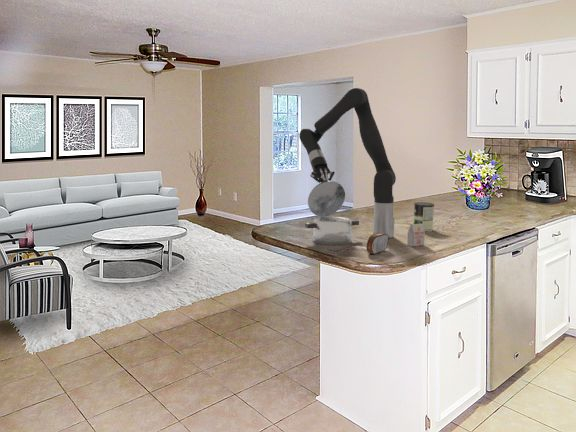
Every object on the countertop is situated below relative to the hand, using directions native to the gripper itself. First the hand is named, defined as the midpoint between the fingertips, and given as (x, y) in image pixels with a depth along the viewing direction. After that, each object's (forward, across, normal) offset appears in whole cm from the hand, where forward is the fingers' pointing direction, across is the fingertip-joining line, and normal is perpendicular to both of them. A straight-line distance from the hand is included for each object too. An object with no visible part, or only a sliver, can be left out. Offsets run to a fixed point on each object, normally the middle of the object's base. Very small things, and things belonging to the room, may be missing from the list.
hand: (327, 188), depth 245 cm
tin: (+41, +8, -7) cm, 43 cm away
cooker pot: (+22, 0, +13) cm, 25 cm away
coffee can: (+16, +58, +19) cm, 63 cm away
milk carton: (+37, +32, -2) cm, 49 cm away
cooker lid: (+4, 0, +4) cm, 6 cm away
